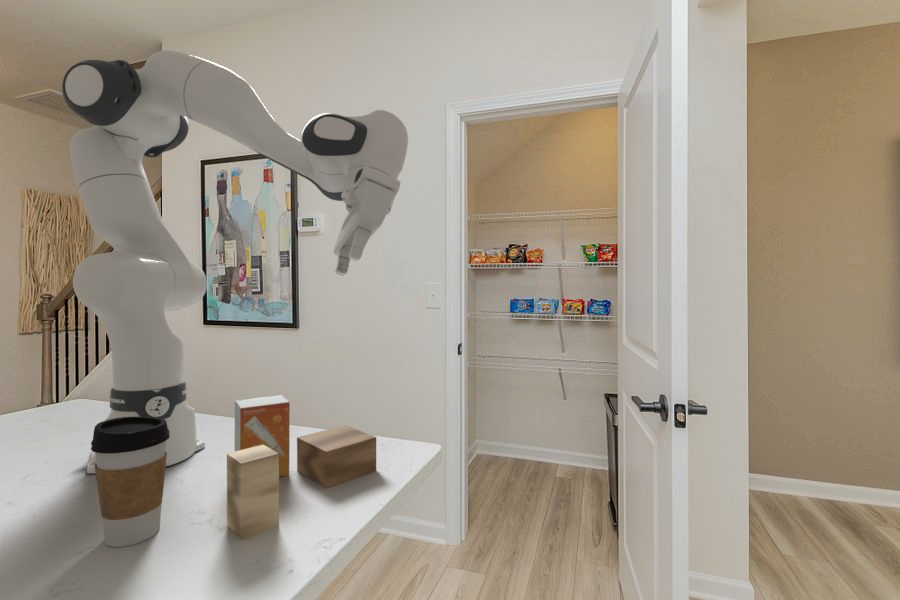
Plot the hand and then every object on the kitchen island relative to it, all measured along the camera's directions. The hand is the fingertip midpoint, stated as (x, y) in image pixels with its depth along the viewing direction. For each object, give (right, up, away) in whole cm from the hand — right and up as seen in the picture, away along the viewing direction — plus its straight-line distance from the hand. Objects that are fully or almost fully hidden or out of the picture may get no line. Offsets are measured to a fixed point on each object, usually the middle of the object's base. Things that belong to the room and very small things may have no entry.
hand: (346, 266), depth 73 cm
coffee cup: (-25, -37, -15) cm, 47 cm away
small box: (-16, -36, +4) cm, 40 cm away
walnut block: (-3, -36, +6) cm, 37 cm away
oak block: (-10, -37, -13) cm, 40 cm away
